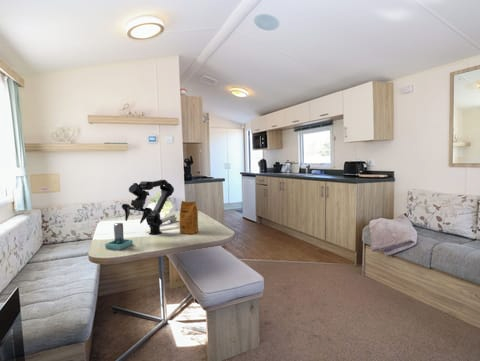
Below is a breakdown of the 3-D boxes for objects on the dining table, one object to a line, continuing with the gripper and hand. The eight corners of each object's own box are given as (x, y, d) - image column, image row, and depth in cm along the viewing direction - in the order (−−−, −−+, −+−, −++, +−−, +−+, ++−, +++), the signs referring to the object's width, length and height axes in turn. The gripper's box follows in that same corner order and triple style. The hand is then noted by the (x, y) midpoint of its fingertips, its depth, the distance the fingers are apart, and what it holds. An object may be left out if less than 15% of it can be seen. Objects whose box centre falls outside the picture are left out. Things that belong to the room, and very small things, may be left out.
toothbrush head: (147, 222, 212) (172, 212, 232) (149, 230, 214) (174, 219, 234) (152, 223, 209) (177, 212, 229) (153, 231, 211) (178, 220, 231)
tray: (119, 243, 176) (118, 238, 175) (132, 244, 172) (132, 239, 172) (105, 248, 166) (105, 243, 165) (119, 250, 162) (119, 245, 162)
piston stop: (122, 243, 172) (121, 222, 171) (125, 245, 169) (124, 223, 167) (113, 245, 169) (112, 224, 168) (116, 247, 165) (115, 225, 164)
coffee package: (185, 229, 202) (183, 199, 200) (200, 231, 198) (199, 200, 196) (177, 233, 193) (175, 202, 191) (193, 235, 189) (191, 202, 187)
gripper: (122, 191, 175) (114, 215, 168) (152, 196, 174) (144, 220, 167) (128, 198, 185) (120, 221, 178) (156, 203, 184) (149, 226, 178)
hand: (133, 222), depth 175 cm, fingers open, 9 cm apart
